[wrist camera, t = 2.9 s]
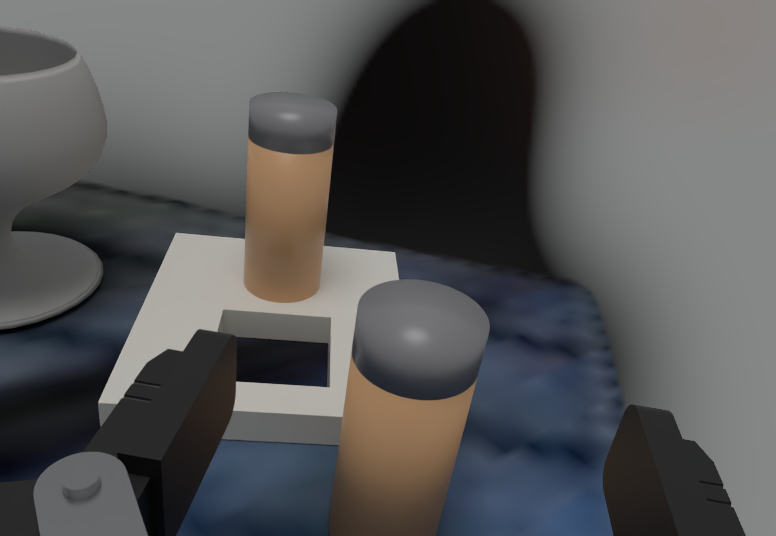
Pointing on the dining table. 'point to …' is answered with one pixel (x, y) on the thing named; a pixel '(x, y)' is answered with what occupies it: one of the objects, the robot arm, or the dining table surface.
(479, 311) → the grey-capped tan peg
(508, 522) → the dining table surface
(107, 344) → the dining table surface
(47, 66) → the chalice
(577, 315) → the dining table surface
